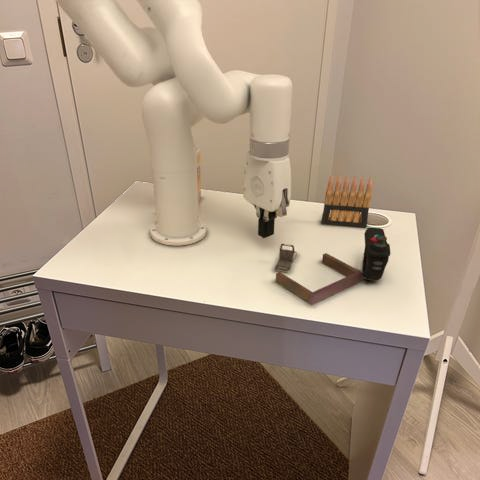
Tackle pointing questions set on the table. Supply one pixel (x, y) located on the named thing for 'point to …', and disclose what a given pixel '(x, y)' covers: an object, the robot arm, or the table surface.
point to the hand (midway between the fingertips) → (266, 235)
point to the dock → (327, 291)
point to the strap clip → (286, 258)
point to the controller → (375, 254)
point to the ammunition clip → (347, 204)
